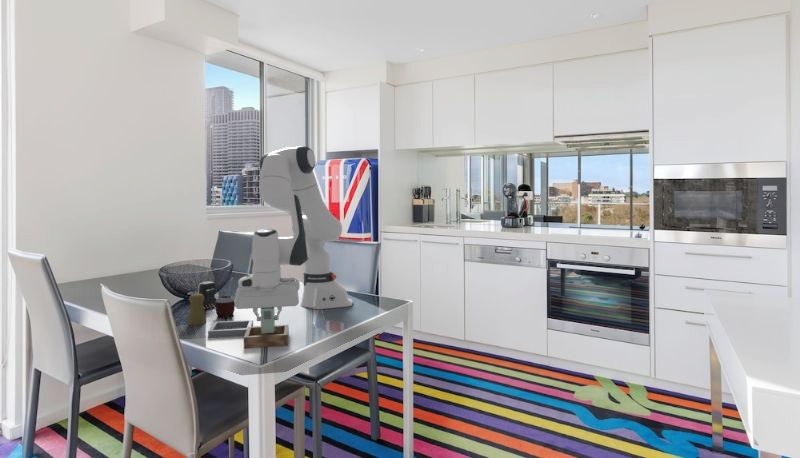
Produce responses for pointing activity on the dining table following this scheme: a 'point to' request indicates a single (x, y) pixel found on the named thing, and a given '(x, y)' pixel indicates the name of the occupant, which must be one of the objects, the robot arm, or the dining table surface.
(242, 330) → the shallow grey tray
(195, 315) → the olive waisted shaker
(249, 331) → the shallow wooden tray
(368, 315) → the dining table surface
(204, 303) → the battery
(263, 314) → the plug
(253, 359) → the dining table surface
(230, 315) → the mate gourd
